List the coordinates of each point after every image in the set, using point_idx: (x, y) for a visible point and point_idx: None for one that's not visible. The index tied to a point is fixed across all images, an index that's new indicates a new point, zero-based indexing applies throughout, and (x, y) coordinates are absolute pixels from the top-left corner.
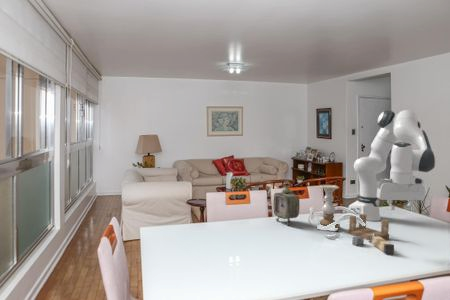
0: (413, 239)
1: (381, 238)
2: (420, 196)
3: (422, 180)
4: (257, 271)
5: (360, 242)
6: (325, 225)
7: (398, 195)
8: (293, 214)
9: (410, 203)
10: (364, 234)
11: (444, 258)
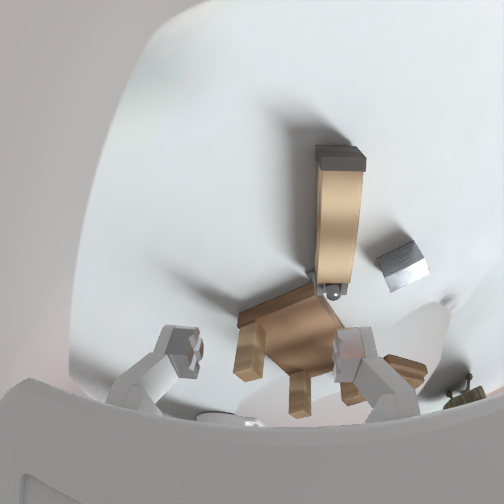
0: (155, 305)
1: (325, 255)
2: (28, 415)
3: None
4: None
5: (398, 256)
6: (411, 375)
7: (319, 489)
8: (466, 400)
9: (146, 381)
10: (336, 324)
11: (115, 122)
